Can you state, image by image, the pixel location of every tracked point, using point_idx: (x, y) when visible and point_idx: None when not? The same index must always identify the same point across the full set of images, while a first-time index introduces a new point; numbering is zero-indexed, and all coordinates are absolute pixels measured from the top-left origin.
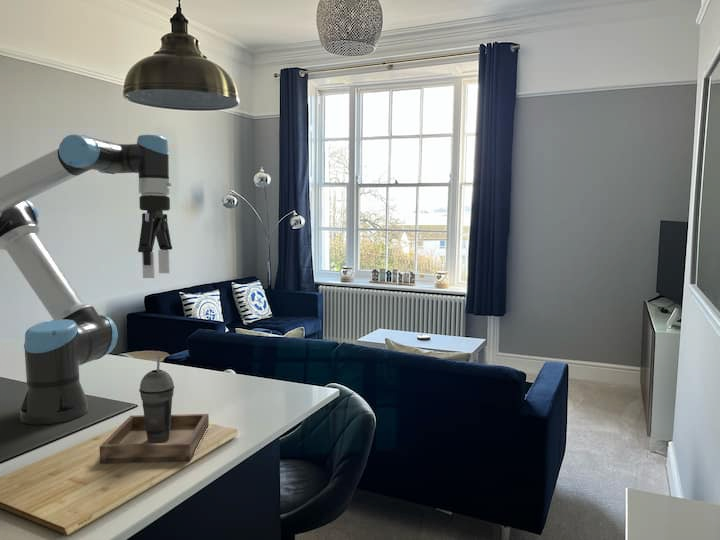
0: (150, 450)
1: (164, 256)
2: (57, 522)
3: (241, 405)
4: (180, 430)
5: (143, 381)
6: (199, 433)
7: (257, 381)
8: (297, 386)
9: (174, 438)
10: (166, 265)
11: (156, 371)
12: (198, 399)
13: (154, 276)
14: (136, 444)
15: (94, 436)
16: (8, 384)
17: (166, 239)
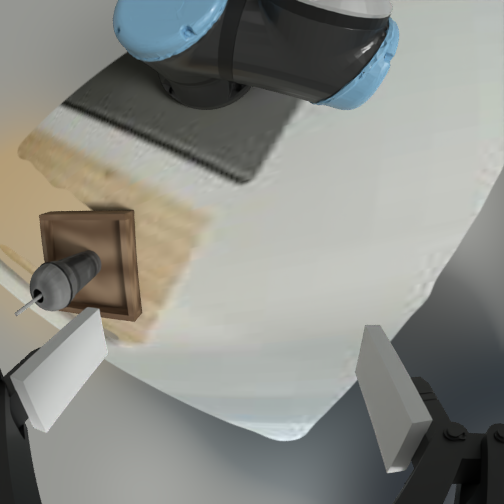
0: None
1: (383, 421)
2: None
3: (232, 346)
4: (118, 283)
5: (32, 275)
6: None
7: (357, 357)
8: (316, 408)
9: (95, 280)
10: (368, 389)
11: (49, 291)
12: (270, 280)
13: (102, 356)
14: (45, 254)
15: (115, 167)
16: None
17: None
